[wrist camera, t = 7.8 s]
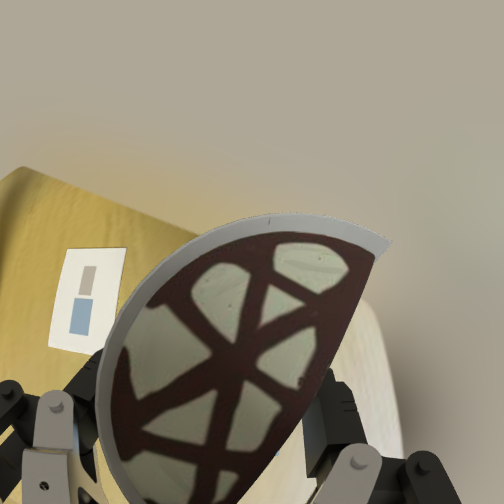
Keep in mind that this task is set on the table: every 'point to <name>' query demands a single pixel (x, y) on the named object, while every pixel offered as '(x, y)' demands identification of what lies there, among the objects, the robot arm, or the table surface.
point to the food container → (226, 353)
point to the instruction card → (86, 299)
